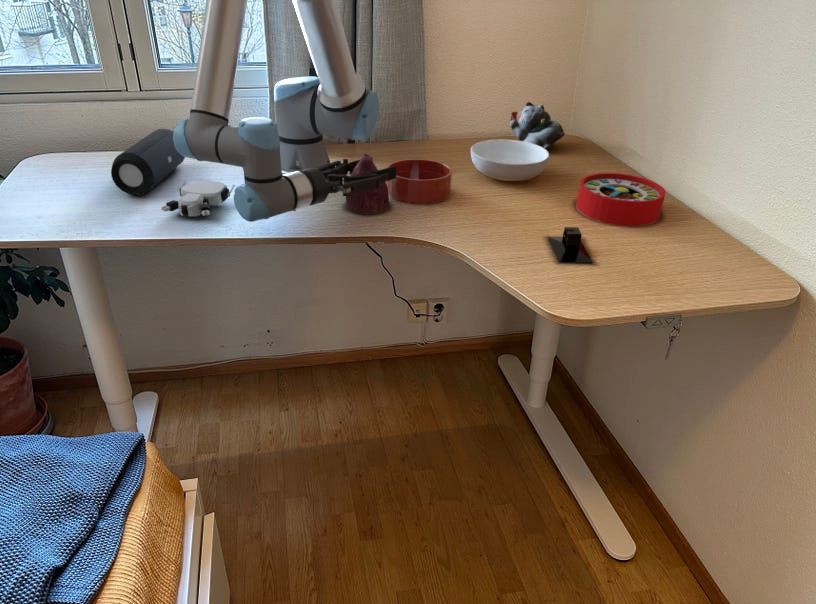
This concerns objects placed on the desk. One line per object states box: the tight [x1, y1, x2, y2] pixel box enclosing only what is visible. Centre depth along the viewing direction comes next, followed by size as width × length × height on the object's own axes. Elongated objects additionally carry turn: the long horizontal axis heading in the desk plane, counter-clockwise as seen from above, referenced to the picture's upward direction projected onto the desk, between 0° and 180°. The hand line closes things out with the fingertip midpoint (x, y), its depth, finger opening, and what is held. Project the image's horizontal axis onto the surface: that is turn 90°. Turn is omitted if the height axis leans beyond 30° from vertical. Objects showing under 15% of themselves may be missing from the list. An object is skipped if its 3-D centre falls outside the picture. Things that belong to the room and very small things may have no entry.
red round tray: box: [385, 158, 453, 205], centre depth 163 cm, size 16×16×6 cm
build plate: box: [547, 226, 594, 265], centre depth 139 cm, size 12×7×5 cm, turn 1°
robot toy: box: [160, 179, 236, 217], centre depth 150 cm, size 12×4×15 cm
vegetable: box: [344, 152, 390, 215], centre depth 152 cm, size 10×10×15 cm
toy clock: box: [575, 172, 666, 227], centre depth 159 cm, size 20×6×20 cm
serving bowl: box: [470, 138, 550, 182], centre depth 176 cm, size 21×21×7 cm
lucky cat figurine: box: [509, 101, 566, 150], centre depth 199 cm, size 15×12×14 cm
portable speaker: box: [110, 128, 186, 195], centre depth 163 cm, size 26×10×10 cm, turn 176°
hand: (383, 167), depth 154 cm, fingers closed on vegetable, 8 cm apart
